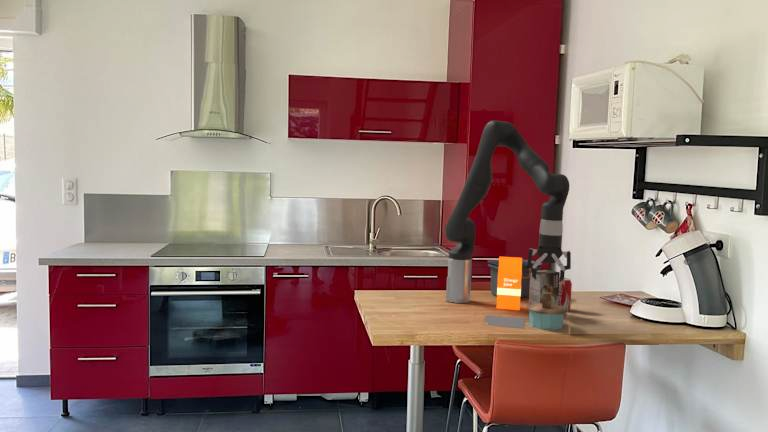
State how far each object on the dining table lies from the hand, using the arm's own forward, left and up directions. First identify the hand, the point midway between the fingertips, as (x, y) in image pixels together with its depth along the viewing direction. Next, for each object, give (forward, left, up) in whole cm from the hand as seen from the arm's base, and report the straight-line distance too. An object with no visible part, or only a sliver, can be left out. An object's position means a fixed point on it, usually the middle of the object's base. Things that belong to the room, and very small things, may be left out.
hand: (547, 280), depth 218 cm
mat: (-14, 0, -16) cm, 21 cm away
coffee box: (-1, +19, -17) cm, 25 cm away
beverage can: (+6, +29, -17) cm, 34 cm away
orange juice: (-14, +23, -17) cm, 32 cm away
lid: (0, 0, -10) cm, 10 cm away
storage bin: (-13, +47, -17) cm, 52 cm away
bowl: (0, 0, -16) cm, 16 cm away
